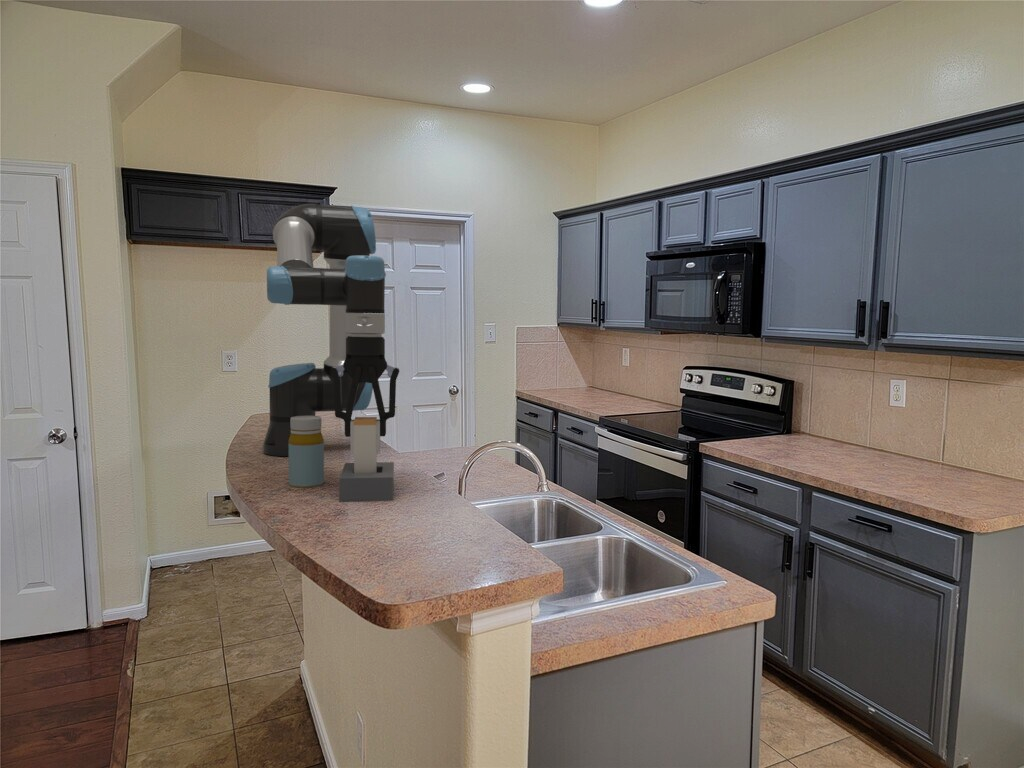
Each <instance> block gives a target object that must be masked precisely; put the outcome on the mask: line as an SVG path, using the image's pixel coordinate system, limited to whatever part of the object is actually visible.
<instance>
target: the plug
mask: <svg viewBox="0 0 1024 768" xmlns="http://www.w3.org/2000/svg"><path fill="white" fill-rule="evenodd" d="M377 419H378V417H377V416H355V418H354V454H353V463H354V473H377V462H378V461H377V457H378V454H376V420H377Z"/></svg>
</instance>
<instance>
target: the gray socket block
mask: <svg viewBox="0 0 1024 768" xmlns="http://www.w3.org/2000/svg"><path fill="white" fill-rule="evenodd" d="M394 464H395V463H394V462H393V461H390V462H389V461H386V462H384V461H383V462H382V461H381V462H380V461H379V462H378V461H377V473H354V462H345V463H344V465H343V469H342V471H341V473H340V475H339V478H338V479H339V480H338V481H339V482H338V488H339V489H338V490H339V491H338V493H339V496H338V497H339V501H338V503H350V502H351V503H352V502H354V503H355V502H356V503H357V502H388V501H389V502H390V501H392V502H393V501H394V488H395V487H394V486H395V485H394V484H395V480H394V479H395V478H394V477H395V475H394V474H395V468H394V467H395V465H394Z"/></svg>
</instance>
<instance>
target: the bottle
mask: <svg viewBox="0 0 1024 768" xmlns="http://www.w3.org/2000/svg"><path fill="white" fill-rule="evenodd" d="M290 427H291V435H290V438H289V456H288V485H289V487H292V488H296V489H309V488H310V489H311V488H317V487H320V486H323V485H324V484H325V449H324V448H325V447H324V446H325V442H324V440H325V439H324V437H323V434H322V417H321V416H318V415H315V416H295V417H291V419H290Z"/></svg>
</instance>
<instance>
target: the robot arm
mask: <svg viewBox="0 0 1024 768" xmlns="http://www.w3.org/2000/svg"><path fill="white" fill-rule="evenodd" d="M272 236H273V237H272V238H273V242H274V244H275V245H276V248H277V249H276V250H277V251H276V252H277V253H276V254H277V255H276V258H277V259H276V266H275V265H274V266H273V265H271V266H269V267H268V268H267V269H266V298H267V300H268V302H269V303H271V304H280V305H285V306H289V305H299V306H300V305H301V306H302V305H303V306H304V305H307V306H308V305H309V306H310V305H313V306H320V305H321V306H329V354H328V355H329V356H328V357H327V358H326V359H325V360H324V361H323V367H320V368H319V367H318V368H316V364H315V363H314V362H308V363H306V362H305V363H303V362H302V363H294V364H287V365H282V366H277V367H274V368H272V369H271V370H270V372H269V374H268V375H269V379H268V387H267V388H269V424H268V428H267V431H266V434H265V437H264V440H263V443H262V453H263V454H265V455H267V456H268V455H269V456H276V457H289V438H290V435H291V427H290V419H291V417H295V416H316V413H318V412H334V416H335V418H339V419H341V420H343V422H344V436H345V437H346V438H347V437H350V440H349V441H350V455H354V419H355V418H354V419H353V418H352V416H353V413H354V412H355V411H364V410H366V409H367V408H368V407H369V405H370V403H371V400H372V397H373V394H374V400H375V404H376V408H377V413H378V417H379V418H377V420H376V454H377V455H380V454H381V437H386V435H387V420H389V419H391V418H394V417H395V416H396V396H397V395H396V391H397V379H398V376H399V374H400V369H399V368H398V367H394V366H391V365H389V364H388V362H387V360H386V353H385V352H386V349H385V348H386V346H385V345H386V344H385V343H386V340H385V337H384V336H383V334H385V333H386V314H385V293H386V292H385V290H386V288H385V287H386V285H385V284H386V282H385V281H386V276H387V275H386V271H385V270H386V269H385V261H384V259H383V258H382V257H380V256H377V255H374V254H375V253H376V251H377V248H376V245H377V242H376V241H377V240H376V231H375V225H374V219H373V215H372V213H371V212H370V210H369V209H368V208H366V207H365V208H364V207H360V206H359V207H358V206H353V205H338V204H337V205H333V204H321V203H320V204H319V203H318V204H316V203H305V204H304V203H303V204H299V205H296V206H293V207H291V208H290V209H288V210H285V212H283V213H282V214H280V216H279V217H278V218H277V220H276V221H275V223H274V225H273V228H272ZM313 251H315V252H323V259H324V261H325V262H326V263H327V264H328V265H329V268H324V267H314V261H313V260H314V259H313ZM385 371H386V372H387V377H388V378H389V398H388V400H389V401H388V411H385V409H386V408H385V405H384V401H383V397H382V391H381V388H380V387H381V386H380V382H379V379H380V378H381V376H382V375H383V374H384V372H385Z"/></svg>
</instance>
